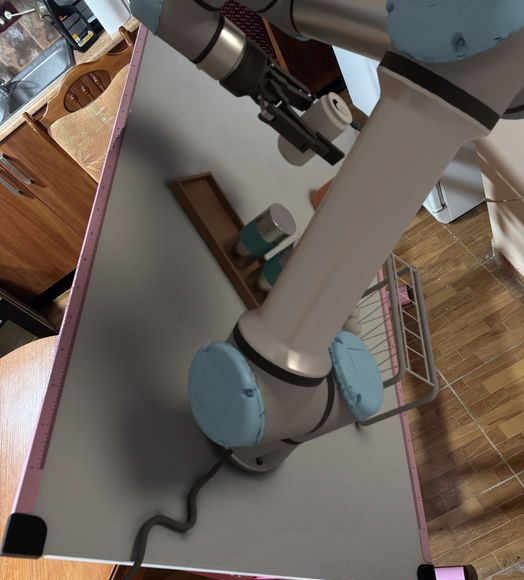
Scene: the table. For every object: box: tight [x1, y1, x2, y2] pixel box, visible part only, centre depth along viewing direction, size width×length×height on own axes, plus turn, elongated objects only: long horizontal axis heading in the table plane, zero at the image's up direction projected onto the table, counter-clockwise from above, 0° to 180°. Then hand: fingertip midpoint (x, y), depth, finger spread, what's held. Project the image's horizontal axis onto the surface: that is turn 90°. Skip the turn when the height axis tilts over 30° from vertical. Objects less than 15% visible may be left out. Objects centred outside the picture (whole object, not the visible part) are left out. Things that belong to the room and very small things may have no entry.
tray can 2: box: [246, 238, 300, 303], centre depth 96 cm, size 6×6×12 cm
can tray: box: [169, 171, 268, 310], centre depth 99 cm, size 10×27×2 cm, turn 47°
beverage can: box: [277, 91, 353, 168], centre depth 92 cm, size 6×6×12 cm
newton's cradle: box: [341, 251, 440, 427], centre depth 104 cm, size 30×10×18 cm, turn 178°
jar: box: [311, 176, 335, 210], centre depth 127 cm, size 7×7×11 cm
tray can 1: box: [224, 202, 297, 270], centre depth 96 cm, size 6×6×12 cm
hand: (336, 145), depth 95 cm, fingers closed on beverage can, 6 cm apart
